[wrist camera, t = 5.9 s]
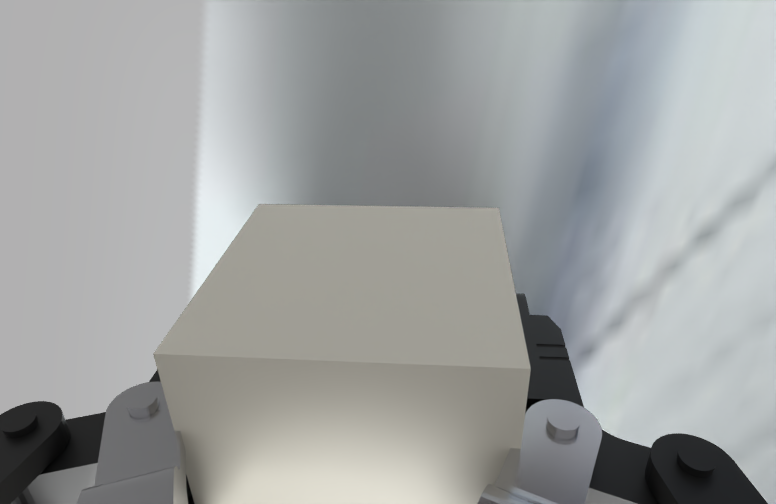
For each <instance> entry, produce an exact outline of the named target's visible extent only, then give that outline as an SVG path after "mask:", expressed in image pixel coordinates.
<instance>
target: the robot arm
mask: <svg viewBox="0 0 776 504" xmlns="http://www.w3.org/2000/svg"><path fill="white" fill-rule="evenodd" d="M516 297H517V302H518V307H519V312H520V317H521V322H522V327H523V332H524V337H525V342H526V347H527V352H528V357H529V362H530V367H531V371H530V379H529V387H528V395H527V403H526V411H525V420H524V428H523V436H522V444H521V449H518V448H510V450H509V453H508V455H507V457H506V460H505V462H504V464H503V467H502V469H501V471H500V473H499V476H498V478H497V480H496V482H495V484H494V485H491V484H488V485H487V486H486V487H485V489H484V491H483V493H482V495H481V497H480V499H479V501H478V503H477V504H768V503H767V502H766V501H765V500H764V498H763V497H762V496H761V495H760V493H759V492H758V491H757V490H756V488H755V487H754V486H753V485H752V483H751V482H750V481H749V480H748V478H747V477H746V476H745V474H744V473H743V472H742V471H741V469H740V468H739V467H738V466H737V464H736V463H735V462H734V461H733V460H732V458H731V457H730V456H729V455H728V454H727V453H725V452H724V451H723V450H722V449H720V448H719V447H718V446H716V445H714V444H713V443H711V442H709V441H707V440H704V439H702V438H699V437H696V436H692V435H688V434H668V435H665V436H662V437H660V438H659V439H657V440H656V441H655V442H654V443H653V445H652V447H651V448H649V447H645V446H642V445H638V444H635V443H632V442H628V441H625V440H622V439H619V438H617V437H614V436H612V435H610V434H608V433H607V432H605V431H603V430H602V429H601V426H600V424H599V422H598V420H597V419H596V418H595V416H594V415H593V414H592V413H590V412H589V411H588V410H587V409H585V408H584V406H583V403H582V400H581V396H580V393H579V390H578V386H577V383H576V379H575V376H574V373H573V369H572V366H571V363H570V361H569V356H568V352H567V349H566V348H565V342H564V339H563V336H562V332H561V329H560V328H559V327H558V326H557V325H556V324H555V323H554V322H553V321H552V320H551V319H550V318H549V317H548V316H543V315H530V314H529V310H528V306H527V301H526V297H525V294H516ZM0 504H194V500H193V497H192V493H191V489H190V486H189V482H188V478H187V475H186V450H185V446H184V442H183V439H182V435H181V431H174V428H173V424H172V420H171V417H170V413H169V409H168V406H167V402H166V398H165V395H164V391H163V387H162V384H161V380H160V377H159V373H158V369H157V371H156V373H155V374H154V375H153V377H152V378H151V380H150V382H147V383H143V384H139V385H137V386H134V387H131V388H129V389H127V390H125V391H124V392H122V393H121V394H119V395H118V396H117V397H116V398H115V399H114V400H113V401H112V402H111V403H110V404H109V406H108V408H107V410H106V412H104V413H100V414H94V415H89V416H84V417H78V418H73V419H68V420H65V418H64V416H63V413H62V410H61V408H60V407H59V406H58V405H56V404H54V403H51V402H44V401H38V402H32V403H26V404H23V405H20V406H17V407H15V408H12V409H10V410H8V411H6V412H4V413H3V414H1V415H0Z"/></svg>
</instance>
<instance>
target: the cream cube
mask: <svg viewBox="0 0 776 504" xmlns="http://www.w3.org/2000/svg"><path fill="white" fill-rule="evenodd" d="M154 358H155V362H156V366H157V369H158V373H159V377H160V380H161V384H162V387H163V391H164V395H165V398H166V402H167V406H168V409H169V413H170V417H171V420H172V424H173V428H174V431H181V435H182V439H183V442H184V446H185V450H186V475H187V478H188V482H189V486H190V489H191V493H192V497H193V500H194V504H477V503H478V501H479V499H480V497H481V495H482V493H483V491H484V489H485V487H486V486H487V485H488V484H491V485H494V484H495V482H496V480H497V478H498V476H499V473H500V471H501V469H502V467H503V464H504V462H505V460H506V457H507V455H508V453H509V450H510V448H518V449H521V444H522V436H523V428H524V420H525V411H526V403H527V395H528V387H529V379H530V371H531V367H530V362H529V357H528V352H527V347H526V342H525V337H524V332H523V327H522V322H521V317H520V312H519V307H518V302H517V297H516V292H515V287H514V282H513V277H512V272H511V267H510V262H509V257H508V252H507V247H506V242H505V237H504V232H503V227H502V222H501V217H500V212H499V208H484V207H419V206H354V205H290V204H259V205H258V206H257V207H256V209H255V210H254V212H253V213H252V215H251V216H250V217H249V219H248V220H247V222H246V223H245V224H244V226H243V227H242V229H241V230H240V232H239V233H238V234H237V236H236V237H235V239H234V240H233V241H232V243H231V244H230V246H229V247H228V249H227V250H226V251H225V253H224V254H223V256H222V257H221V259H220V260H219V261H218V263H217V264H216V266H215V267H214V268H213V270H212V271H211V273H210V274H209V276H208V277H207V278H206V280H205V281H204V283H203V284H202V285H201V287H200V288H199V290H198V291H197V293H196V294H195V295H194V297H193V298H192V300H191V301H190V302H189V304H188V305H187V307H186V308H185V310H184V311H183V312H182V314H181V315H180V317H179V318H178V320H177V321H176V322H175V324H174V325H173V327H172V328H171V330H170V331H169V332H168V334H167V335H166V337H165V338H164V340H163V341H162V342H161V344H160V345H159V347H158V348H157V349H156V351H155V352H154Z"/></svg>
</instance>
